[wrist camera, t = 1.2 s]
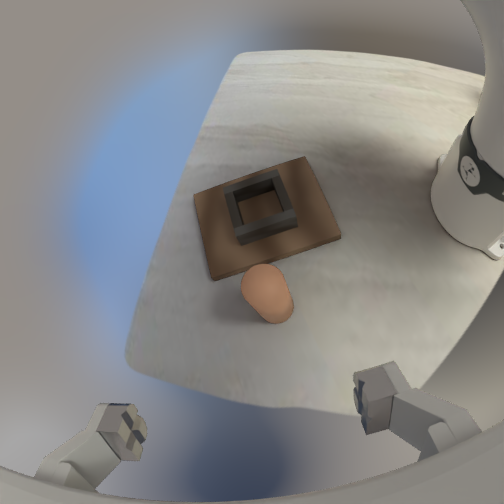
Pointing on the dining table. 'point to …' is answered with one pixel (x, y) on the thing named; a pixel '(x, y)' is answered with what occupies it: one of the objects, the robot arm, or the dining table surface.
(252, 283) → the peg
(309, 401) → the dining table surface
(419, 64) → the dining table surface
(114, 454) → the robot arm
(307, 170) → the collar stand
